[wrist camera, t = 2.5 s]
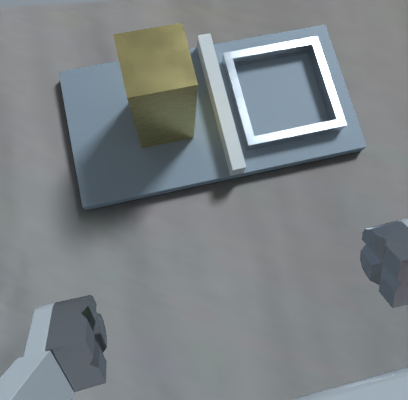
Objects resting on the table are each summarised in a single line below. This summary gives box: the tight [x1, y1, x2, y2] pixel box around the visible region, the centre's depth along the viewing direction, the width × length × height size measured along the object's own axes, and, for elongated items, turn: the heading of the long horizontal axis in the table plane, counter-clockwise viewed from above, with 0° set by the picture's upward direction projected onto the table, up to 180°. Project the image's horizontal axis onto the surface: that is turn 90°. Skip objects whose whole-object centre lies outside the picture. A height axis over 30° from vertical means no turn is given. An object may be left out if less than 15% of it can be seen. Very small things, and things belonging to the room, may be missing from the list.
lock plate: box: [59, 25, 367, 210], centre depth 30 cm, size 22×11×2 cm, turn 103°
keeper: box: [222, 36, 347, 151], centre depth 30 cm, size 8×8×1 cm
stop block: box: [114, 23, 198, 148], centre depth 26 cm, size 4×4×8 cm
